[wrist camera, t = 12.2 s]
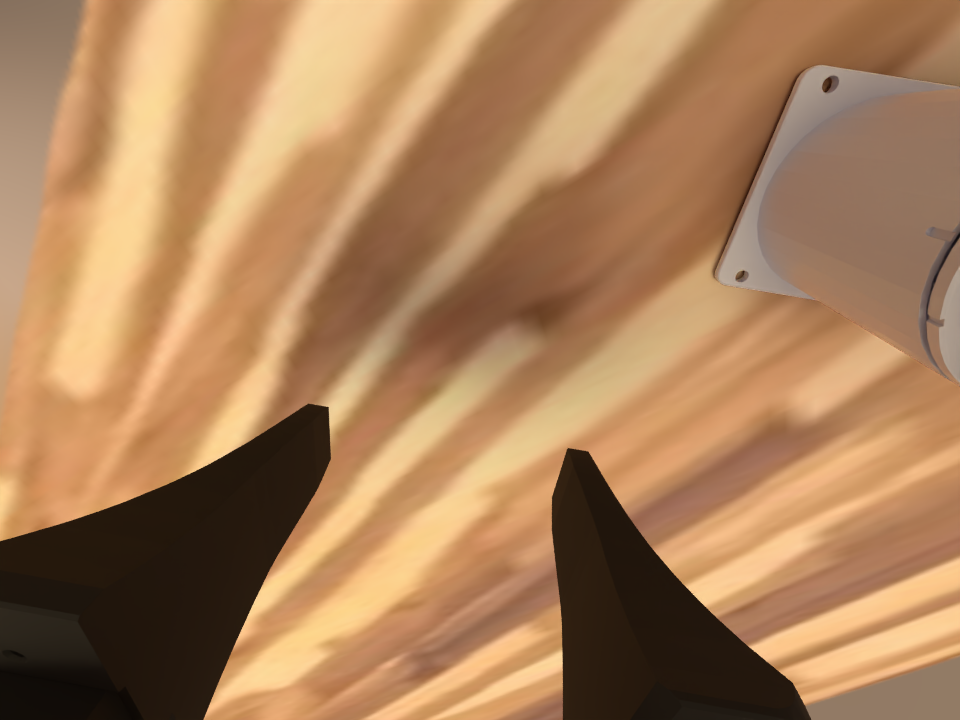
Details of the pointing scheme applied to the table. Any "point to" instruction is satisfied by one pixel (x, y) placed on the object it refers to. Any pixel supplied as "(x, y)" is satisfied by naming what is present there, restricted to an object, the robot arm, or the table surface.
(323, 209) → the table surface
